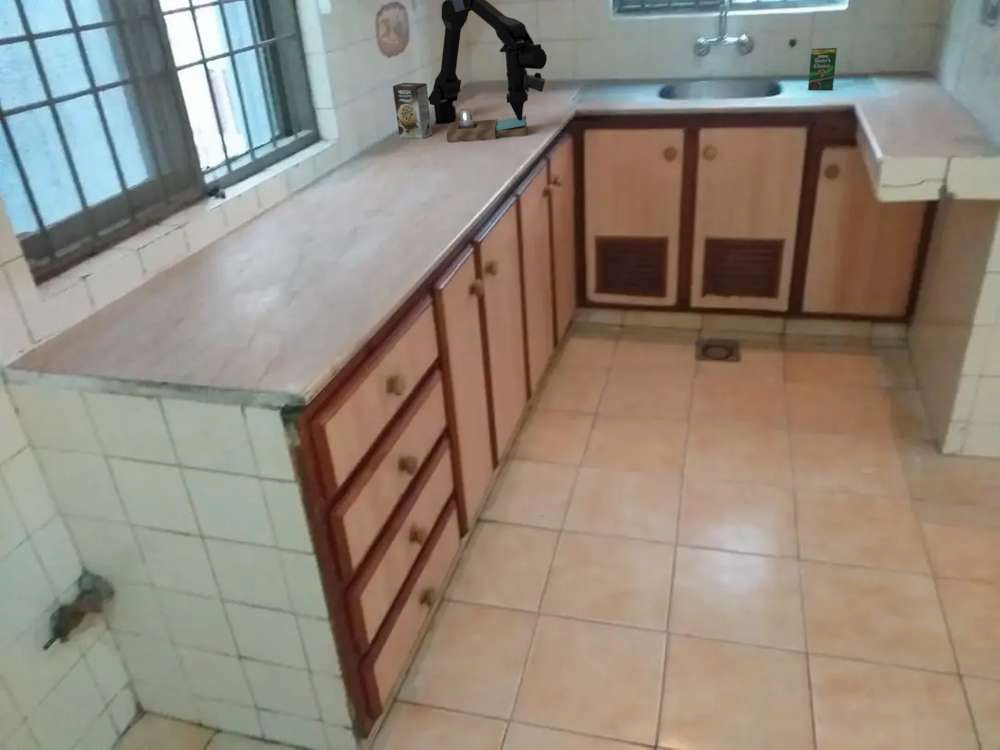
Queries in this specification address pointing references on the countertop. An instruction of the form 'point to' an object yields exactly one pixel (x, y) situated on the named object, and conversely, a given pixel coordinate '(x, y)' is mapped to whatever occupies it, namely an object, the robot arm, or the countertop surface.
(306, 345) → the countertop surface
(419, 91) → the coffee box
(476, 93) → the countertop surface
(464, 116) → the peg
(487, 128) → the socket block
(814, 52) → the coffee box
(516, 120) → the latch flap
